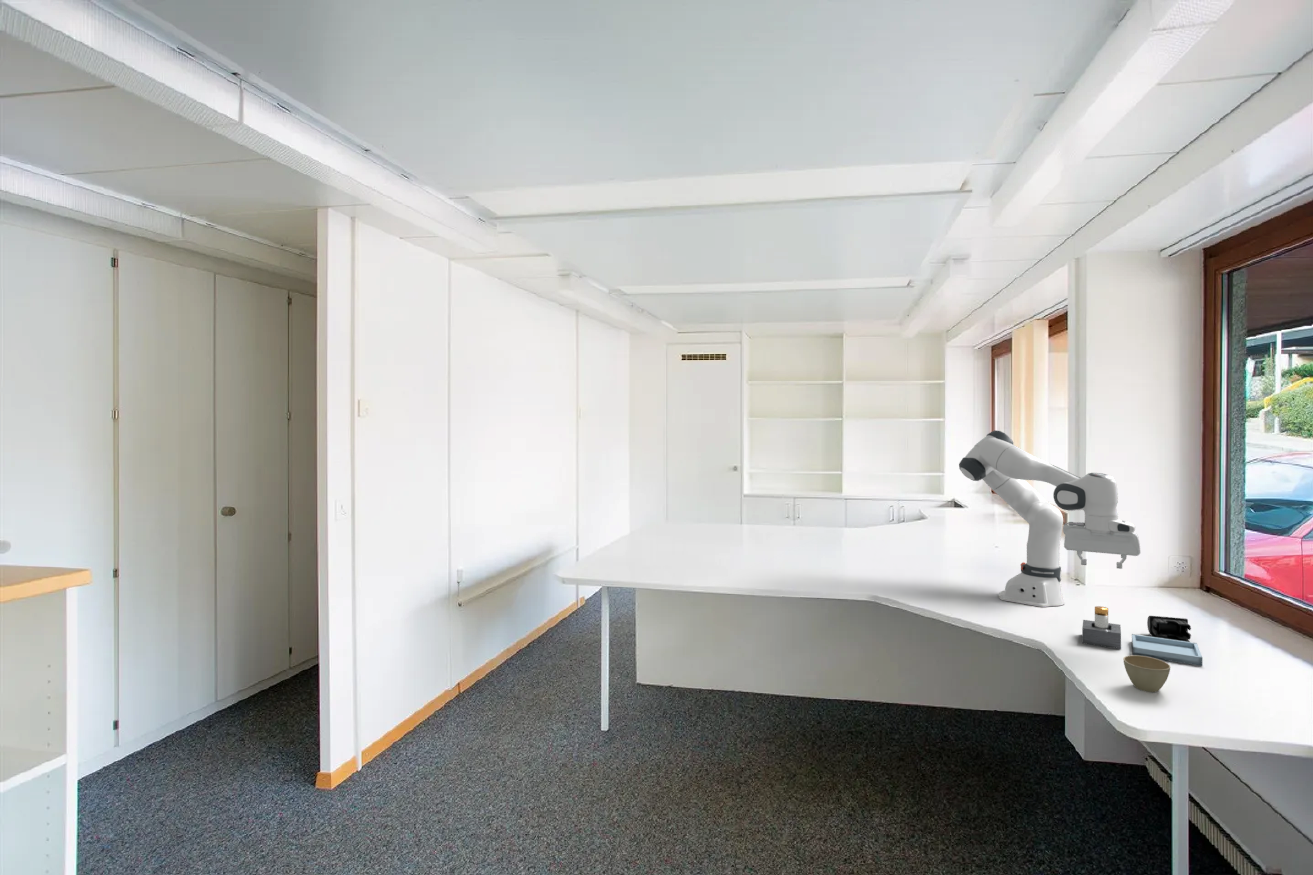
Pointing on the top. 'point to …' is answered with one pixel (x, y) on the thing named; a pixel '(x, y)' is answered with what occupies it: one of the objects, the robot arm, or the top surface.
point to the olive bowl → (1146, 672)
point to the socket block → (1101, 635)
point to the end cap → (1169, 628)
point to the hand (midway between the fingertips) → (1101, 566)
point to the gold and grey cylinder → (1101, 617)
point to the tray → (1166, 649)
